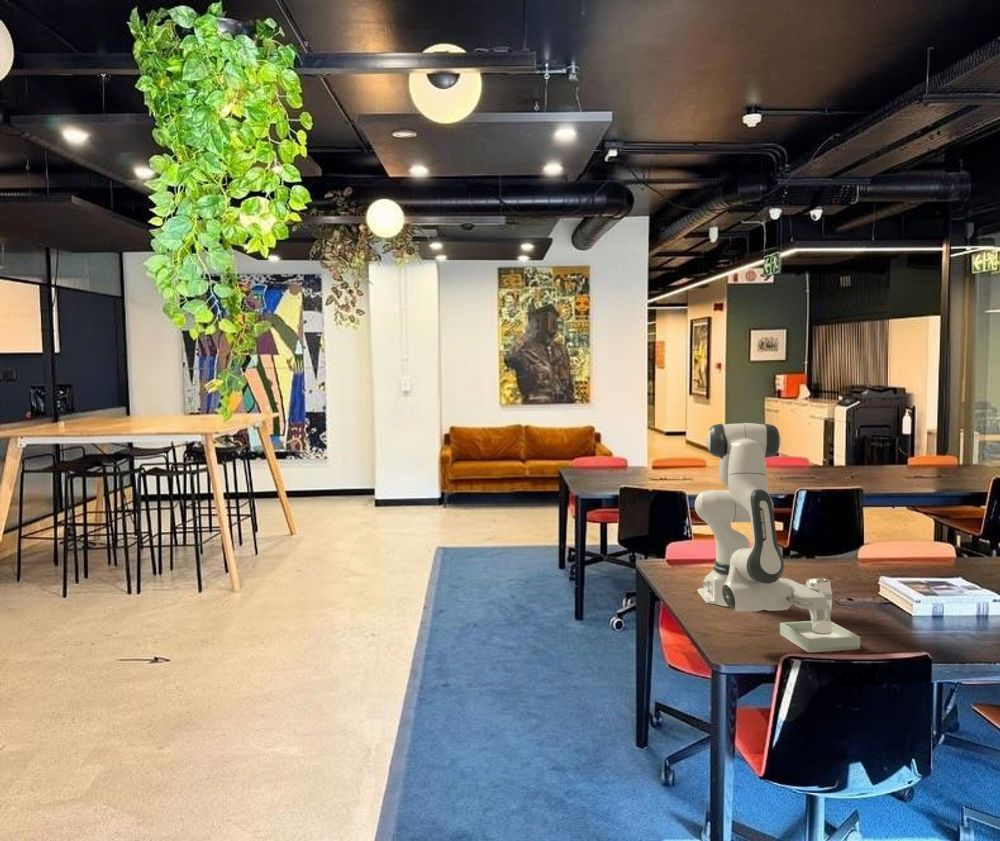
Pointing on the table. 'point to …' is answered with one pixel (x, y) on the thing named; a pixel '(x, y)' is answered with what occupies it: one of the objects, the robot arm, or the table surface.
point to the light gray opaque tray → (819, 637)
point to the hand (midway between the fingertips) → (822, 592)
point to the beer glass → (820, 616)
